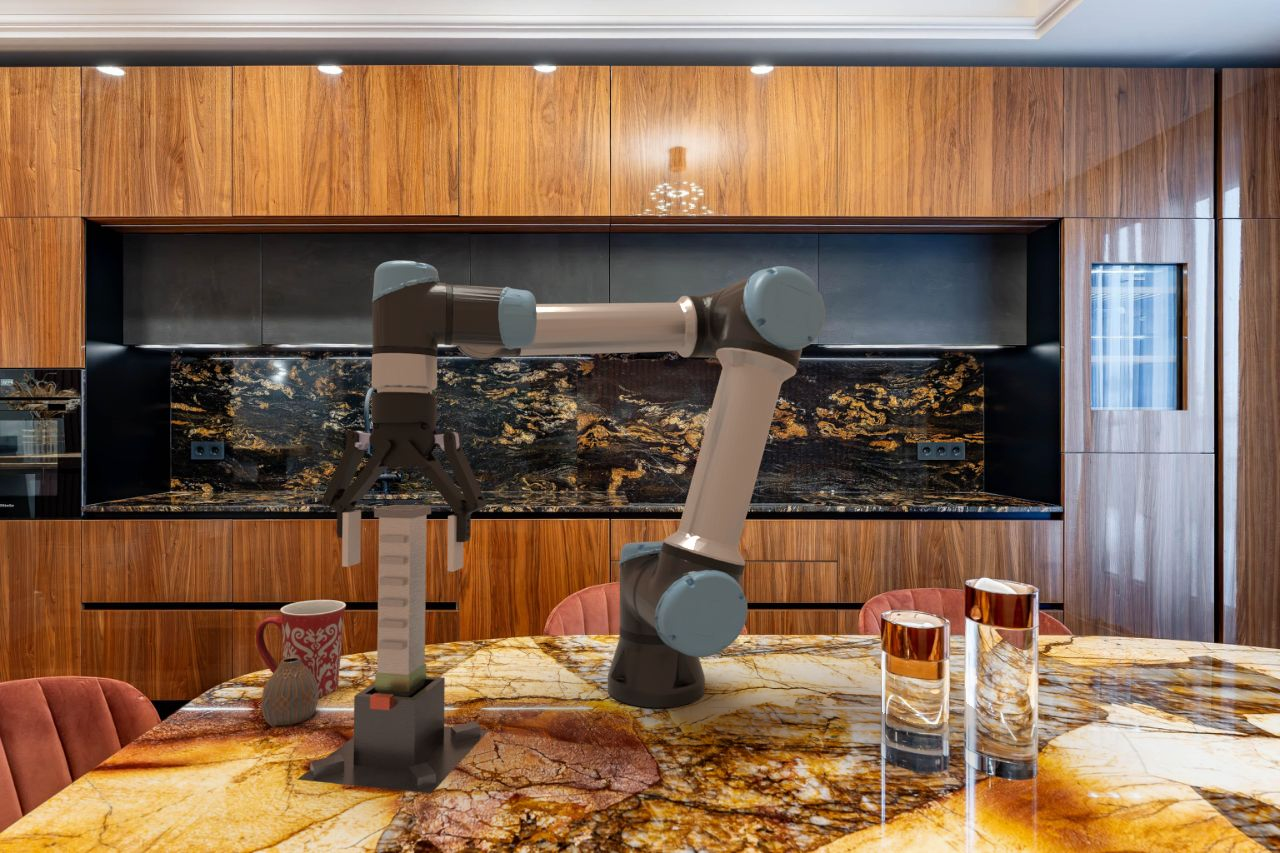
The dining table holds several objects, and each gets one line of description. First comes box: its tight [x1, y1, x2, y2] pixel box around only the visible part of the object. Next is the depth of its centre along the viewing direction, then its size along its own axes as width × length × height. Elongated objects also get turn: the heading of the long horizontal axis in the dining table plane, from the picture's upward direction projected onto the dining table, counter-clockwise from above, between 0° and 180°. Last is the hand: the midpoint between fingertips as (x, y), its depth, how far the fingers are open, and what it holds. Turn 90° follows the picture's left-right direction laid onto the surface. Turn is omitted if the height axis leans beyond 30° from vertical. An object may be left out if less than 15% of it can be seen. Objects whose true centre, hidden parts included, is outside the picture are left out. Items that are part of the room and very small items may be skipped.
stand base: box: [297, 675, 489, 794], centre depth 84 cm, size 16×16×10 cm
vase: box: [261, 657, 319, 728], centre depth 94 cm, size 7×7×9 cm
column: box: [373, 504, 432, 697], centre depth 84 cm, size 5×5×22 cm
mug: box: [255, 599, 347, 701], centre depth 104 cm, size 13×9×14 cm
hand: (402, 567), depth 84 cm, fingers open, 13 cm apart
